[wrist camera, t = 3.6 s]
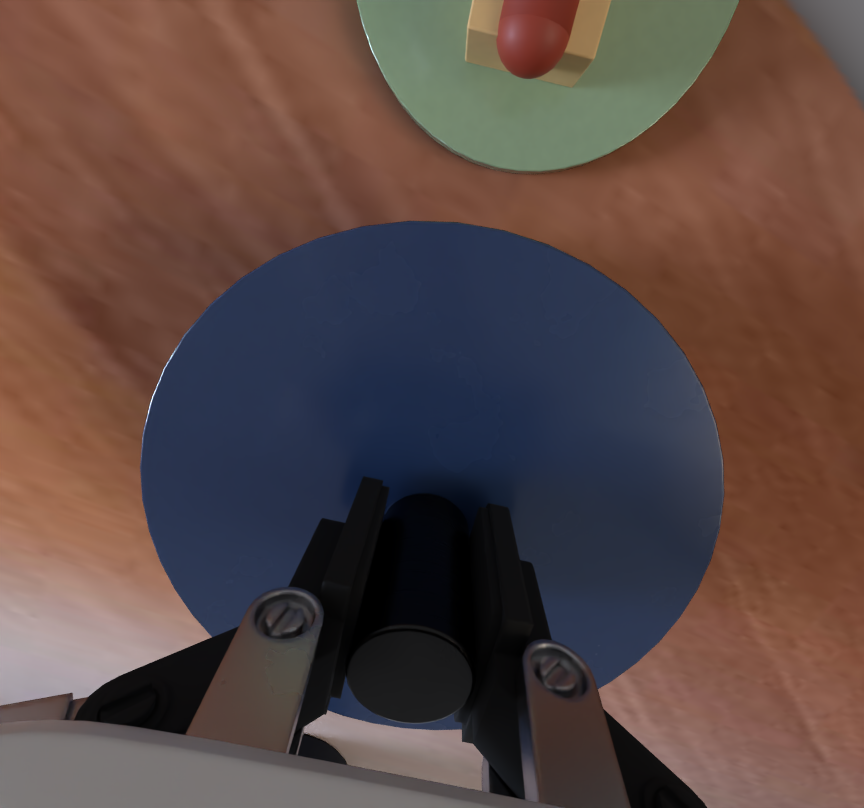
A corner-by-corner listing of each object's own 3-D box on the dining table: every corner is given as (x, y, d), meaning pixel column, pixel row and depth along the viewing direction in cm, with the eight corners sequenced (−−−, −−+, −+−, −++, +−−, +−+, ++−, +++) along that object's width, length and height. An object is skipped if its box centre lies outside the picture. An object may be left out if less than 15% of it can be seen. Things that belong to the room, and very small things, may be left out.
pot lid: (74, 283, 12) (-243, 314, 6) (712, 164, 10) (999, 74, 5) (254, 715, 17) (162, 933, 11) (696, 680, 15) (827, 912, 10)
